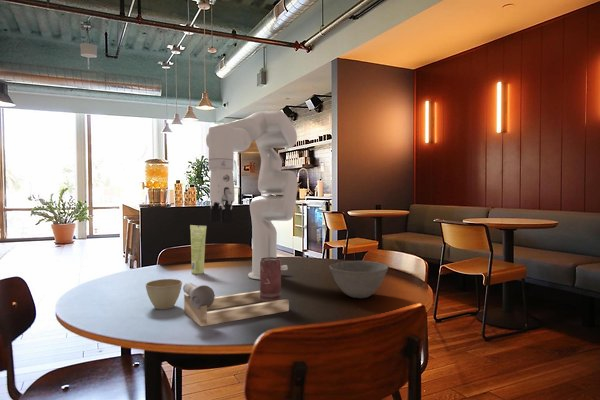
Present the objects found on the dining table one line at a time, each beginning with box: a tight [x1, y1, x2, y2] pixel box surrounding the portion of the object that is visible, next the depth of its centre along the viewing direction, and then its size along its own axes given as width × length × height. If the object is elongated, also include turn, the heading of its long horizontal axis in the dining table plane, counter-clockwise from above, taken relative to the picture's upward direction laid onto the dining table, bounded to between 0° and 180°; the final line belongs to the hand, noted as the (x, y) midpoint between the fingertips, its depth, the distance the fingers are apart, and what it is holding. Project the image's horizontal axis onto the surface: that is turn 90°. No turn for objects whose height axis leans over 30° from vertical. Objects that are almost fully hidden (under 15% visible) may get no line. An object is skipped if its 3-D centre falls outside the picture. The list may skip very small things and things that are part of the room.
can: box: [259, 257, 282, 303], centre depth 121 cm, size 6×6×14 cm
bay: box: [182, 282, 290, 327], centre depth 114 cm, size 28×16×10 cm, turn 122°
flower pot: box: [145, 278, 183, 310], centre depth 119 cm, size 10×10×7 cm
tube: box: [189, 224, 207, 275], centre depth 167 cm, size 6×5×20 cm
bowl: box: [328, 260, 389, 299], centre depth 132 cm, size 19×19×10 cm
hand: (220, 221), depth 126 cm, fingers open, 9 cm apart
